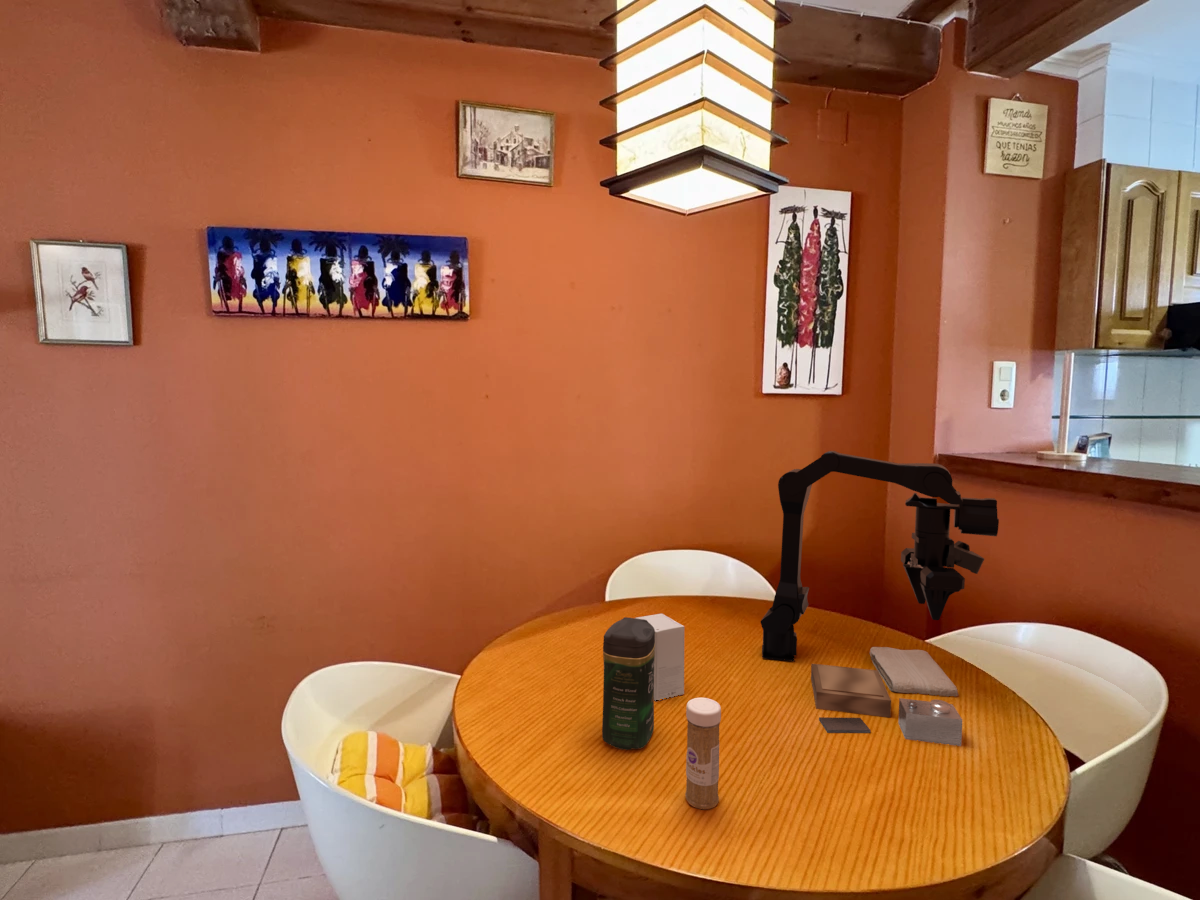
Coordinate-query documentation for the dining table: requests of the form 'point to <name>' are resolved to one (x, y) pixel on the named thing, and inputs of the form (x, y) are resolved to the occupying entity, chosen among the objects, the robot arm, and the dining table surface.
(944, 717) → the housing
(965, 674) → the dining table surface
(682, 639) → the small box
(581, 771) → the dining table surface
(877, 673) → the tray
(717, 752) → the sprinkles bottle
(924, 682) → the washcloth
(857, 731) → the cover plate
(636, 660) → the coffee jar
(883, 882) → the dining table surface
